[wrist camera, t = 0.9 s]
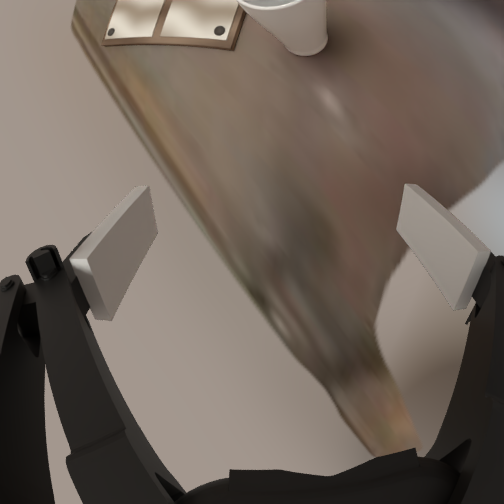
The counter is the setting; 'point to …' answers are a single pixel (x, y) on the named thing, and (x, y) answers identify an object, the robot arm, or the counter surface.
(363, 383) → the counter surface
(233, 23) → the coaster board
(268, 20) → the white cup
